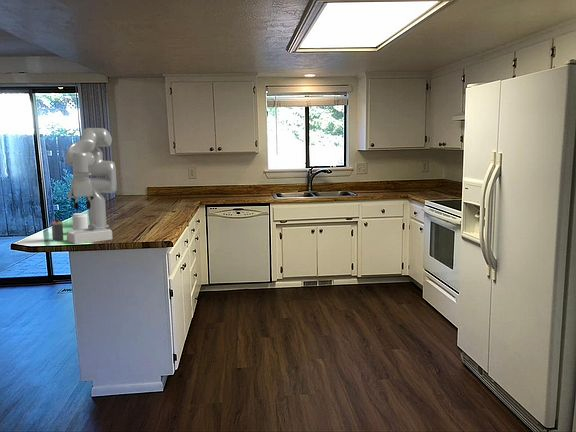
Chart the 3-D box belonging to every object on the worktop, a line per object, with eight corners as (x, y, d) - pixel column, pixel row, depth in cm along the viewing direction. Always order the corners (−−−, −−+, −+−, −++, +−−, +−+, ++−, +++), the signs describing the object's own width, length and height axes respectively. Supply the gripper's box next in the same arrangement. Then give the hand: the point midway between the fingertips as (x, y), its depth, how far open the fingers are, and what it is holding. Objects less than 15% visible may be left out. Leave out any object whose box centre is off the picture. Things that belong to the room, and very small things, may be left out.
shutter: (88, 229, 252) (88, 224, 252) (101, 228, 257) (101, 222, 256) (93, 231, 247) (93, 225, 246) (106, 230, 252) (106, 224, 251)
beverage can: (85, 232, 273) (84, 212, 271) (90, 234, 267) (89, 214, 265) (71, 233, 268) (70, 213, 266) (75, 235, 262) (74, 215, 260)
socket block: (67, 240, 247) (66, 230, 246) (103, 236, 261) (103, 226, 260) (74, 244, 238) (74, 233, 238) (112, 239, 252) (112, 229, 251)
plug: (52, 239, 249) (51, 218, 247) (60, 239, 251) (59, 217, 250) (55, 241, 245) (54, 219, 244) (63, 240, 248) (62, 218, 246)
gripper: (94, 174, 251) (96, 207, 254) (61, 175, 239) (63, 209, 242) (99, 175, 246) (101, 208, 248) (66, 176, 234) (68, 211, 236)
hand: (82, 209), depth 245 cm, fingers open, 5 cm apart
